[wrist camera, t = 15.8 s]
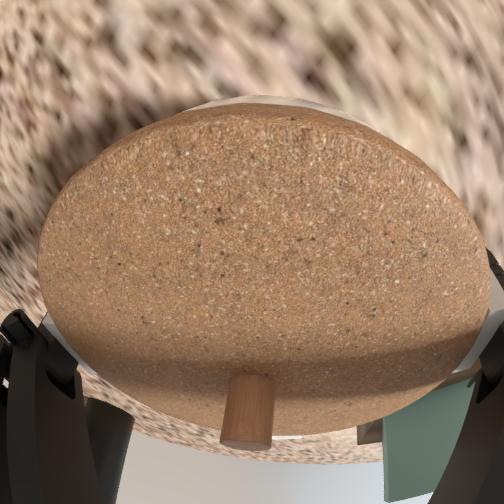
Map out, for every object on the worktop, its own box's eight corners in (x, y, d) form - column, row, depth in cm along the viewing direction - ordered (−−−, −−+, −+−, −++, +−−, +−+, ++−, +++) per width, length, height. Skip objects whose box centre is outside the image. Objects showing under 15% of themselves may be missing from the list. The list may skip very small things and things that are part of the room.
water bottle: (84, 403, 39) (52, 507, 21) (82, 389, 33) (43, 515, 15) (135, 426, 42) (109, 530, 24) (144, 417, 36) (113, 544, 18)
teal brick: (382, 404, 13) (388, 502, 8) (537, 346, 10) (561, 427, 5) (382, 441, 19) (384, 501, 14) (490, 407, 16) (500, 462, 11)
